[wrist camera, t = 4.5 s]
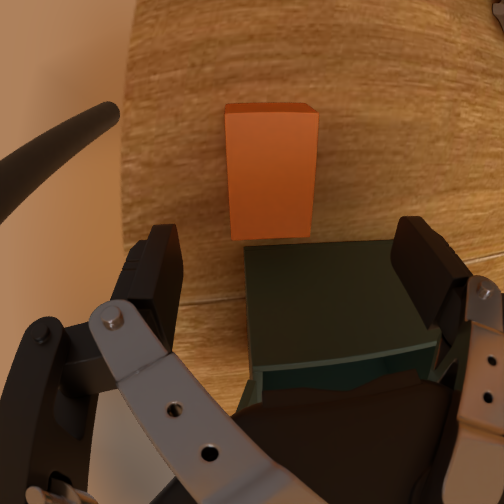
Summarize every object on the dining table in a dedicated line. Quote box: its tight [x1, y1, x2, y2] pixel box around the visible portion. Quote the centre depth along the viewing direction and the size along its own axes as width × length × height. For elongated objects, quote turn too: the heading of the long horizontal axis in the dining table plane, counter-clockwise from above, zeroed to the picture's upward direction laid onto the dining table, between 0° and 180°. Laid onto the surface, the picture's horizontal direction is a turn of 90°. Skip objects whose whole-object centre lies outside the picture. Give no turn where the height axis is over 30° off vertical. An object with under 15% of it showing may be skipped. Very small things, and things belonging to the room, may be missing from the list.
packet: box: [224, 103, 319, 241], centre depth 16 cm, size 4×7×3 cm, turn 2°
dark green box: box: [244, 240, 441, 403], centre depth 21 cm, size 13×12×10 cm
